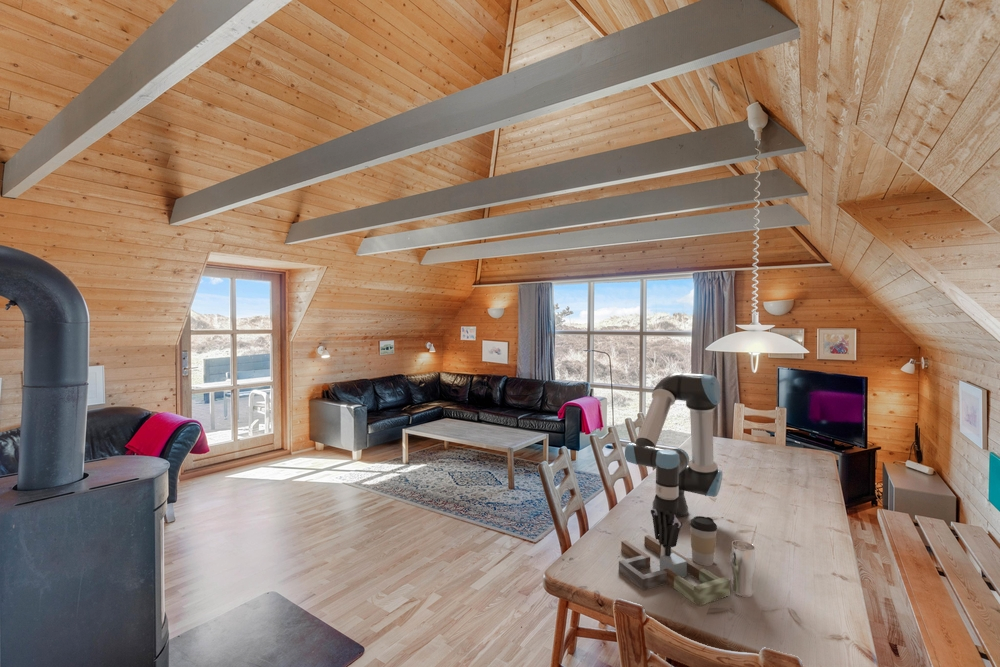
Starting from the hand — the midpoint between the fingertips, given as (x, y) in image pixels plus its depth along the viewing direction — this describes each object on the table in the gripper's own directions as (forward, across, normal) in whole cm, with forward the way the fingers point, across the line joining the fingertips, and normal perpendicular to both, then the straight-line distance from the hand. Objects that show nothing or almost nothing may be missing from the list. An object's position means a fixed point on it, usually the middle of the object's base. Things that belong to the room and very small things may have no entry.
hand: (664, 563), depth 159 cm
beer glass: (+2, +20, +12) cm, 24 cm away
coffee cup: (+2, +1, +16) cm, 16 cm away
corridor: (+2, +3, -5) cm, 6 cm away
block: (+2, +4, 0) cm, 4 cm away
